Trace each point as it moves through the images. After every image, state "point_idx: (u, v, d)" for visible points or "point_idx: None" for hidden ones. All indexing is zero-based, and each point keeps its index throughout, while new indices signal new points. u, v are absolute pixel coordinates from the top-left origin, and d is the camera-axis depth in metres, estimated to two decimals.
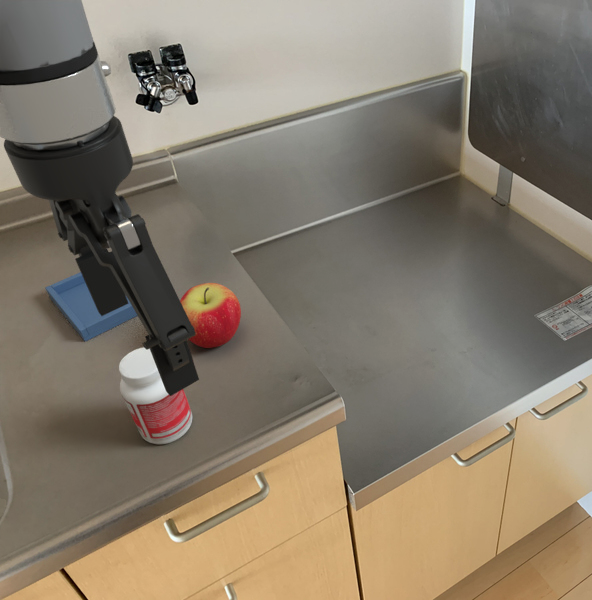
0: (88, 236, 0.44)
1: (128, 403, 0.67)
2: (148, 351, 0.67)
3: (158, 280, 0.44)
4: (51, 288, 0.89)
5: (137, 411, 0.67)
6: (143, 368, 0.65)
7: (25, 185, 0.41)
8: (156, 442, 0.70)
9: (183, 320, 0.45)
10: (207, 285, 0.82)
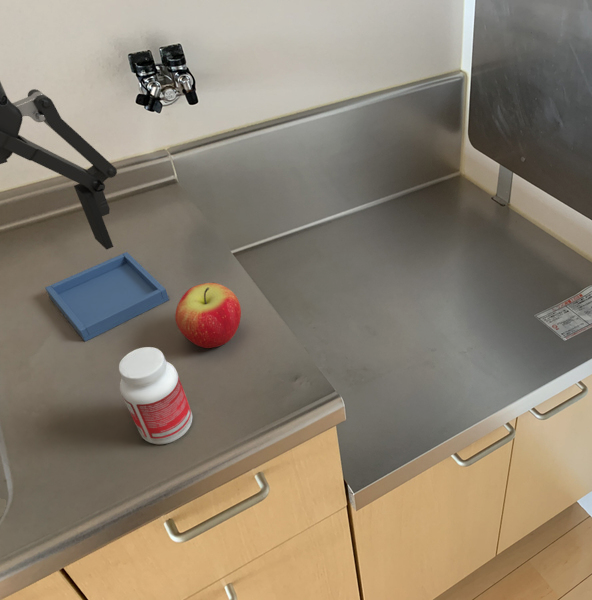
0: None
1: (128, 403, 0.67)
2: (148, 351, 0.67)
3: None
4: (51, 288, 0.89)
5: (137, 411, 0.67)
6: (143, 368, 0.65)
7: None
8: (156, 442, 0.70)
9: None
10: (207, 285, 0.82)
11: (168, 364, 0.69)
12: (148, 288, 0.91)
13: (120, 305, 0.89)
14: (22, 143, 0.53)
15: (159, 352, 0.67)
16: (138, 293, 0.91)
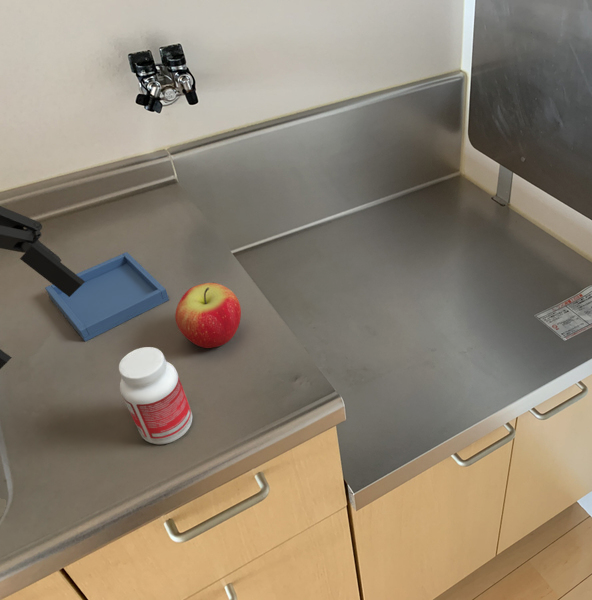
0: None
1: (128, 403, 0.67)
2: (148, 351, 0.67)
3: None
4: (51, 288, 0.89)
5: (137, 411, 0.67)
6: (143, 368, 0.65)
7: None
8: (156, 442, 0.70)
9: None
10: (207, 285, 0.82)
11: (168, 364, 0.69)
12: (148, 288, 0.91)
13: (120, 305, 0.89)
14: None
15: (159, 352, 0.67)
16: (138, 293, 0.91)
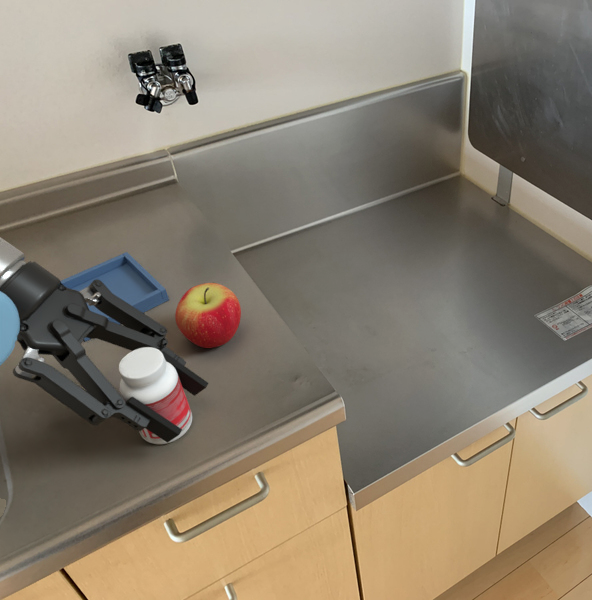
0: (87, 310, 0.66)
1: None
2: (148, 351, 0.67)
3: None
4: None
5: None
6: (143, 368, 0.65)
7: (45, 282, 0.62)
8: (156, 442, 0.70)
9: None
10: (207, 285, 0.82)
11: (168, 364, 0.69)
12: (148, 288, 0.91)
13: None
14: (56, 358, 0.64)
15: (159, 352, 0.67)
16: (138, 293, 0.91)
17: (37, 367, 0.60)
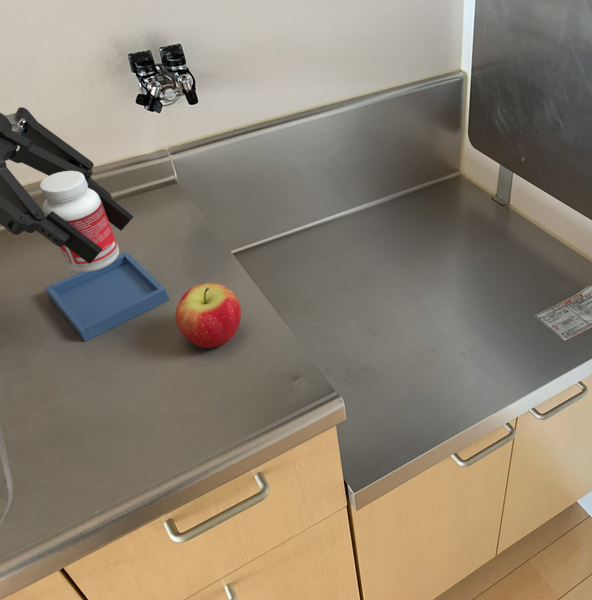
0: (10, 129, 0.69)
1: None
2: (70, 173, 0.70)
3: None
4: (51, 288, 0.89)
5: None
6: (63, 184, 0.68)
7: None
8: (81, 268, 0.73)
9: None
10: (207, 285, 0.82)
11: (91, 190, 0.72)
12: (148, 288, 0.91)
13: (120, 305, 0.89)
14: None
15: (80, 174, 0.70)
16: (138, 293, 0.91)
17: None
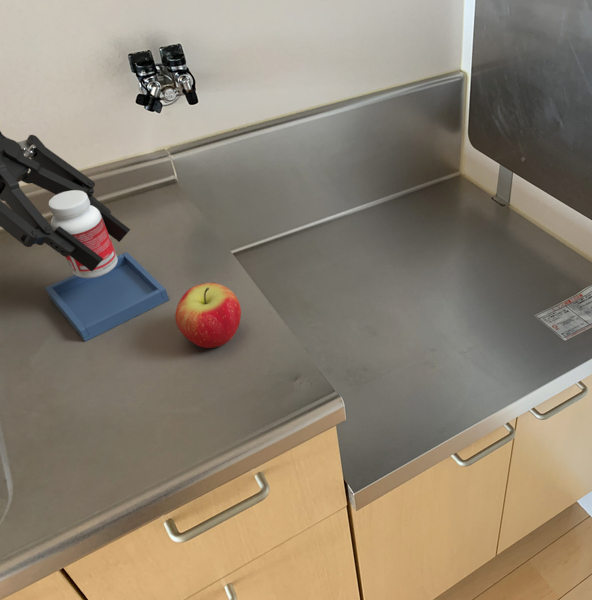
0: (22, 155, 0.79)
1: None
2: (74, 192, 0.80)
3: None
4: (51, 288, 0.89)
5: None
6: (69, 202, 0.79)
7: None
8: (84, 275, 0.84)
9: None
10: (207, 285, 0.82)
11: (93, 207, 0.82)
12: (148, 288, 0.91)
13: (120, 305, 0.89)
14: None
15: (84, 193, 0.80)
16: (138, 293, 0.91)
17: None
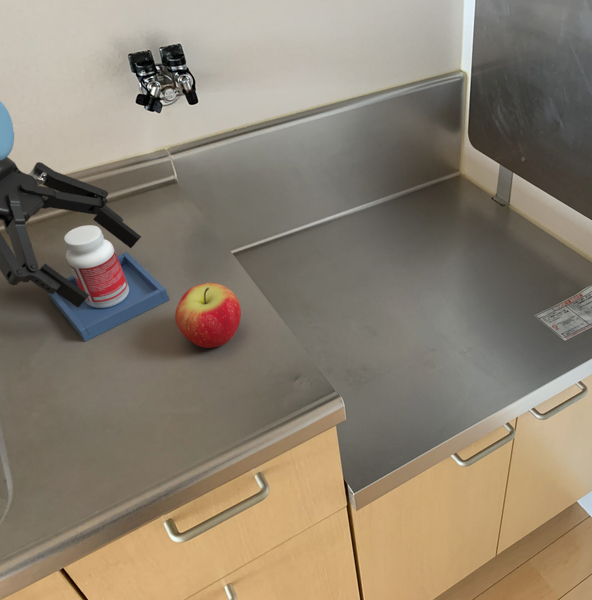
0: (36, 185, 0.82)
1: (72, 268, 0.83)
2: (89, 227, 0.84)
3: None
4: None
5: (80, 275, 0.84)
6: (84, 238, 0.82)
7: (2, 161, 0.78)
8: (97, 305, 0.87)
9: None
10: (207, 285, 0.82)
11: (106, 240, 0.86)
12: (148, 288, 0.91)
13: (120, 305, 0.89)
14: None
15: (97, 228, 0.84)
16: (138, 293, 0.91)
17: None
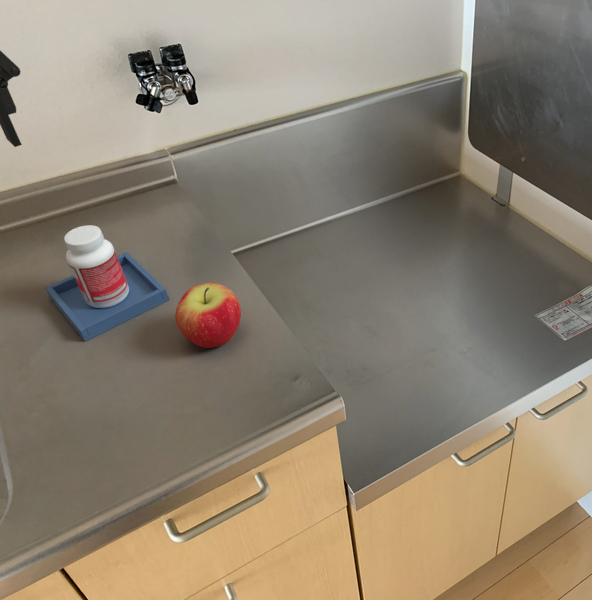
0: None
1: (72, 268, 0.83)
2: (89, 227, 0.84)
3: None
4: (51, 288, 0.89)
5: (80, 275, 0.84)
6: (84, 238, 0.82)
7: None
8: (97, 305, 0.87)
9: None
10: (207, 285, 0.82)
11: (106, 240, 0.86)
12: (148, 288, 0.91)
13: (120, 305, 0.89)
14: None
15: (97, 228, 0.84)
16: (138, 293, 0.91)
17: None
